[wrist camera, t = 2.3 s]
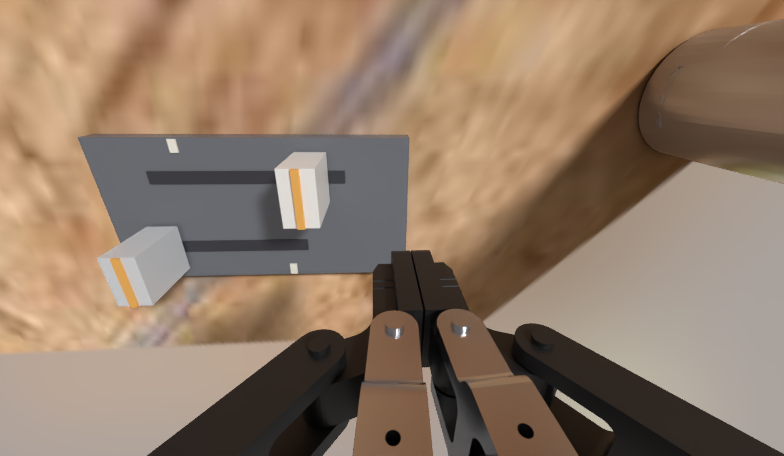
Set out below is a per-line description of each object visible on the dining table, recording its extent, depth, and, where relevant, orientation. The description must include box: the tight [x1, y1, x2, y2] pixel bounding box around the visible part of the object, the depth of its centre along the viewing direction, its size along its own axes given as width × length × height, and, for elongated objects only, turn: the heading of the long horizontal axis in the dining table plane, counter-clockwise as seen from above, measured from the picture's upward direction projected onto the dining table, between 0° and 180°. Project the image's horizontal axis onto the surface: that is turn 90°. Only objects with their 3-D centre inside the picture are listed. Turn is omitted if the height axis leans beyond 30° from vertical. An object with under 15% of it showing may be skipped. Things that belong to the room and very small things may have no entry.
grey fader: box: [97, 226, 190, 308], centre depth 24 cm, size 2×4×5 cm, turn 179°
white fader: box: [274, 152, 330, 230], centre depth 22 cm, size 2×4×5 cm, turn 179°
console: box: [78, 134, 409, 276], centre depth 26 cm, size 24×12×2 cm, turn 89°
